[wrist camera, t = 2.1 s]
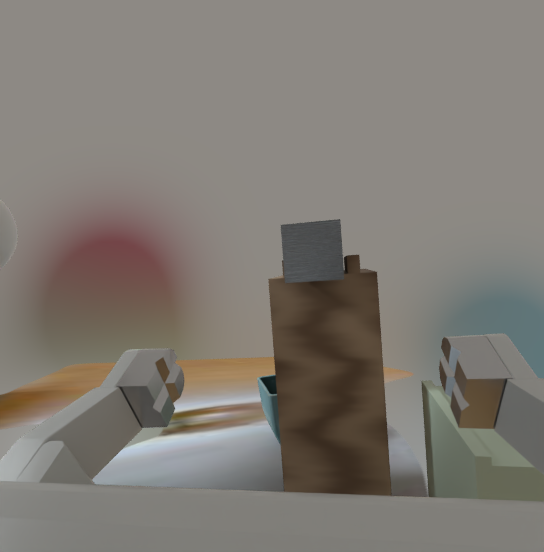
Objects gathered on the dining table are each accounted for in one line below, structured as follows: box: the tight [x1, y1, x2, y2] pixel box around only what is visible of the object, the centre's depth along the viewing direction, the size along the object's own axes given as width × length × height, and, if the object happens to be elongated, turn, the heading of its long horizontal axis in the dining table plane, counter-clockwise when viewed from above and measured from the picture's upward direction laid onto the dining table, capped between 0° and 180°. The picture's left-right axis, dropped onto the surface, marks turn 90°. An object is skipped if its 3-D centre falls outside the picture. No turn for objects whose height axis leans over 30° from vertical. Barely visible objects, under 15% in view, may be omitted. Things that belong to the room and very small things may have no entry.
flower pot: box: [257, 375, 281, 445], centre depth 54 cm, size 9×9×9 cm
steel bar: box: [281, 219, 344, 283], centre depth 30 cm, size 20×4×4 cm, turn 169°
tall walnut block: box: [269, 255, 391, 496], centre depth 35 cm, size 9×12×28 cm
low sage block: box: [422, 381, 544, 501], centre depth 24 cm, size 8×12×16 cm, turn 169°
